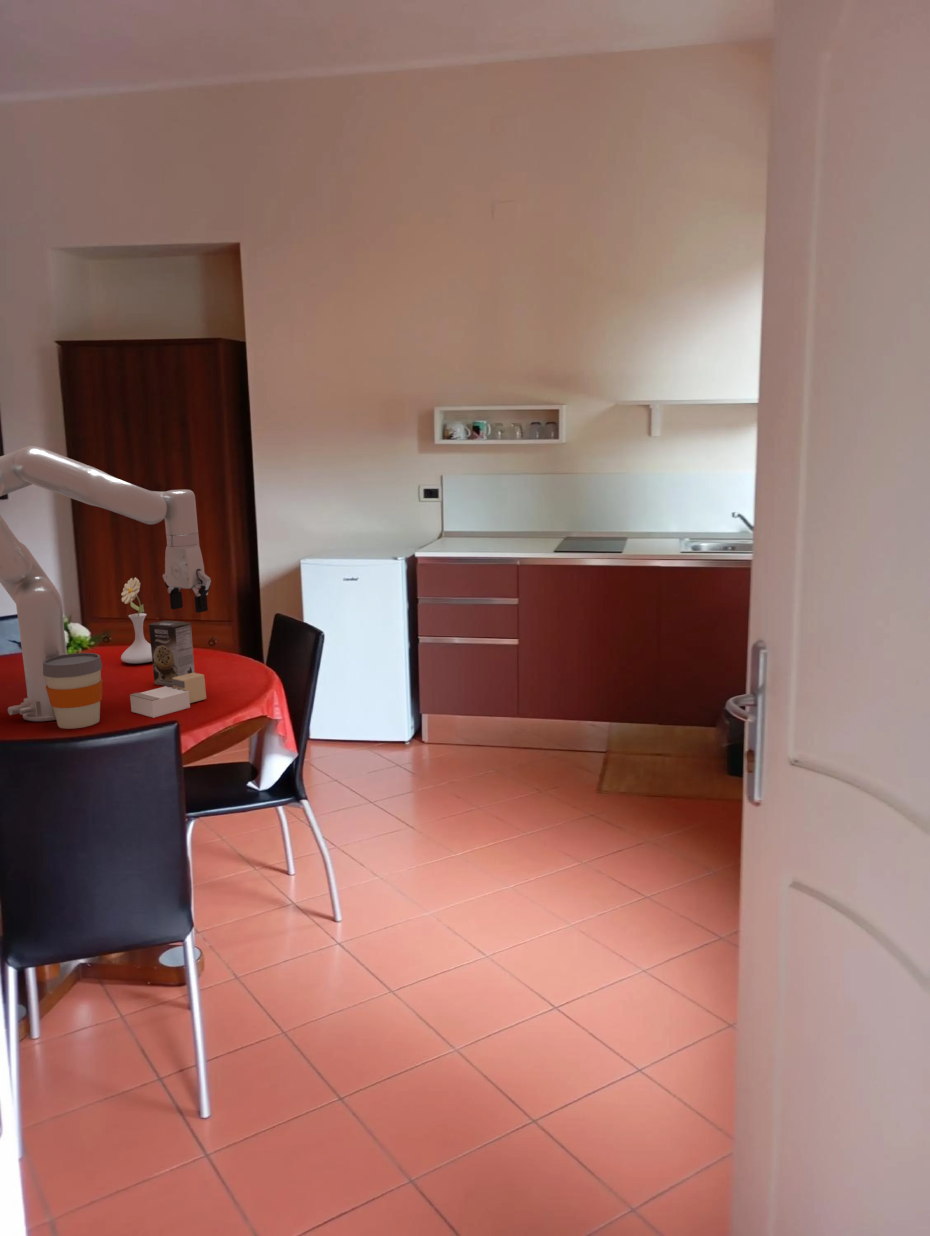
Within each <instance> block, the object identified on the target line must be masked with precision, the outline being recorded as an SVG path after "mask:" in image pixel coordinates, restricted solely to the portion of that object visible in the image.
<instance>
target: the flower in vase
mask: <svg viewBox="0 0 930 1236" xmlns="http://www.w3.org/2000/svg"><path fill="white" fill-rule="evenodd" d="M140 587H141V582H140V580H139V579H138V578H137V577H134V578H133V577H131V578H130V579H129V580H127V583H125V584H124V587H123V589H122V592H121V594H120V595H121V596H122V597H121V602H122V603H124V604H125V605H126V604H127V605H128V604H129V603H130V607H131V608H132V609H134V610H136V611H138V612H137V613H133V614H129V615H127V616H128V618H129V619H130V620H131V622H132V623H133V624H132V625H133V629H134V635H135V637H134V641H133V642H132V644H131V645H130V646H128V648H127V649H126V650H124V652H122V654H121V657H120V660H121V661H122V662H124V663H127V664H137V665H138V664H146V663H151V662H152V653H151V642H150V643H149V642H148V641H147V640H146V639H145V635H144V634H145V633H144V621H145V618H146V616H147V613H144V612H145V609H144V603H143V604H141V603H142V602H141V601H140V597H139V596H138V593H139V592H140ZM136 599H137V601H138V603H139V606H138V605H136V604H135V603H134V602H133V601H135V600H136Z"/></svg>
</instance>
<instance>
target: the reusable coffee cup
mask: <svg viewBox="0 0 930 1236" xmlns="http://www.w3.org/2000/svg"><path fill="white" fill-rule="evenodd" d="M102 670H103V664H102V660H101V655H100V654H98V653H93V652H77V653H67V654H65V655H59V656H55V657H51V658H48V659H46V660H44V661H43V675H44V676H45V678H46V682H47V686H46V689H47V693H48V697H49V701H50V705H51V706H52V707H53V708H54V712H55V716H56V720H55V721H56V724H57V726H58V727H59V728H60V729H69V730H70V729H72V730H73V729H80V728H87V727H89V726H94V725H96V724H98V723H99V722H100V719H101V718H100V715H101V714H100V713H101V700H103V679H102V678H101V677H102V672H101V671H102Z"/></svg>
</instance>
